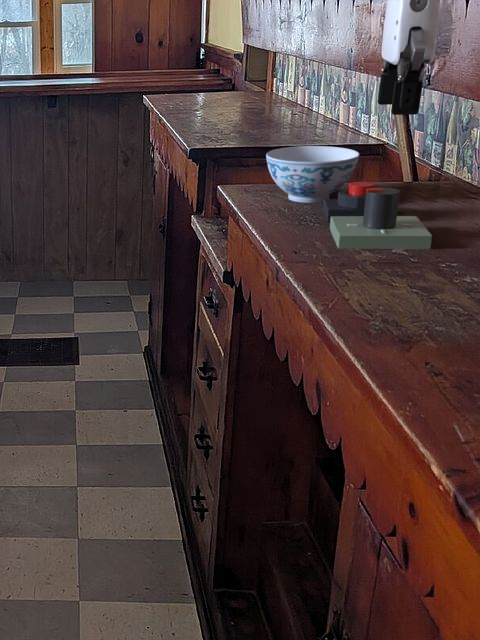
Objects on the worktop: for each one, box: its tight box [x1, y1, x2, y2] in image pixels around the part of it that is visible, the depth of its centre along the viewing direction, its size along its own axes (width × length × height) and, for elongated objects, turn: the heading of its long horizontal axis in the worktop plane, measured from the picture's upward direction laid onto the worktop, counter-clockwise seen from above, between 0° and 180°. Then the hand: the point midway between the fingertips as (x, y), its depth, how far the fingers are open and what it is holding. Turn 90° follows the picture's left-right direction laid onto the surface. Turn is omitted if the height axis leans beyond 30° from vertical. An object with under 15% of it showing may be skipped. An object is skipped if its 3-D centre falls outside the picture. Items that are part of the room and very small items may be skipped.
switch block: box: [322, 188, 366, 224], centre depth 136 cm, size 10×7×4 cm
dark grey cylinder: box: [363, 187, 401, 229], centre depth 124 cm, size 4×4×5 cm
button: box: [348, 181, 375, 196], centre depth 135 cm, size 4×4×2 cm
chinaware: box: [265, 145, 360, 204], centre depth 149 cm, size 15×15×8 cm
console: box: [329, 215, 433, 250], centre depth 125 cm, size 12×11×2 cm
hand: (397, 109), depth 115 cm, fingers open, 9 cm apart
